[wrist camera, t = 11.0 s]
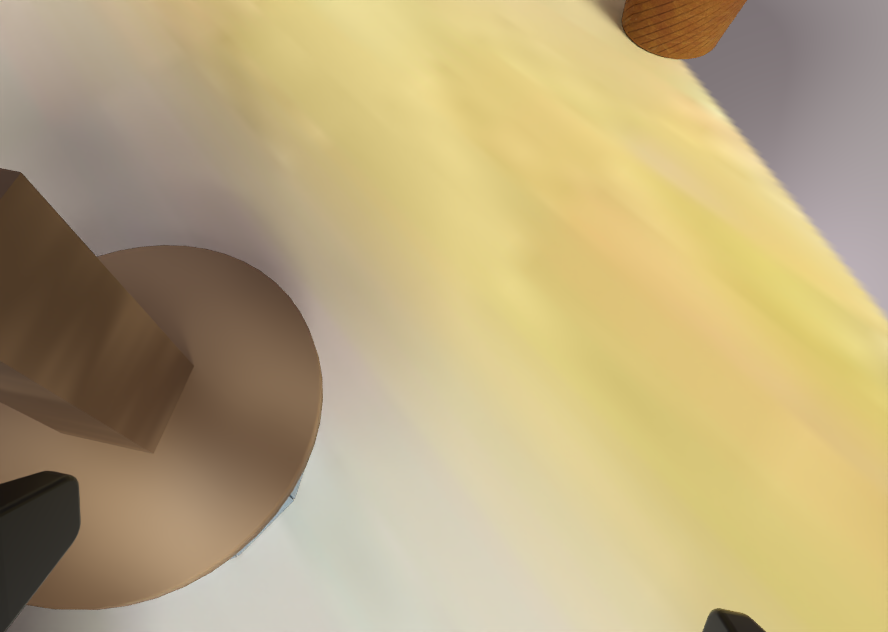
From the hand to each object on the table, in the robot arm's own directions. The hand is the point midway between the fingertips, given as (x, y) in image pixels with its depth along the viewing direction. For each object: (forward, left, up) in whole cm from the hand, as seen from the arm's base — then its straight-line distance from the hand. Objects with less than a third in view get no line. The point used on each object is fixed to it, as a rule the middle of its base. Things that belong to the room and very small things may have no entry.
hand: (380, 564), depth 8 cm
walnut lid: (+4, +10, -10) cm, 14 cm away
